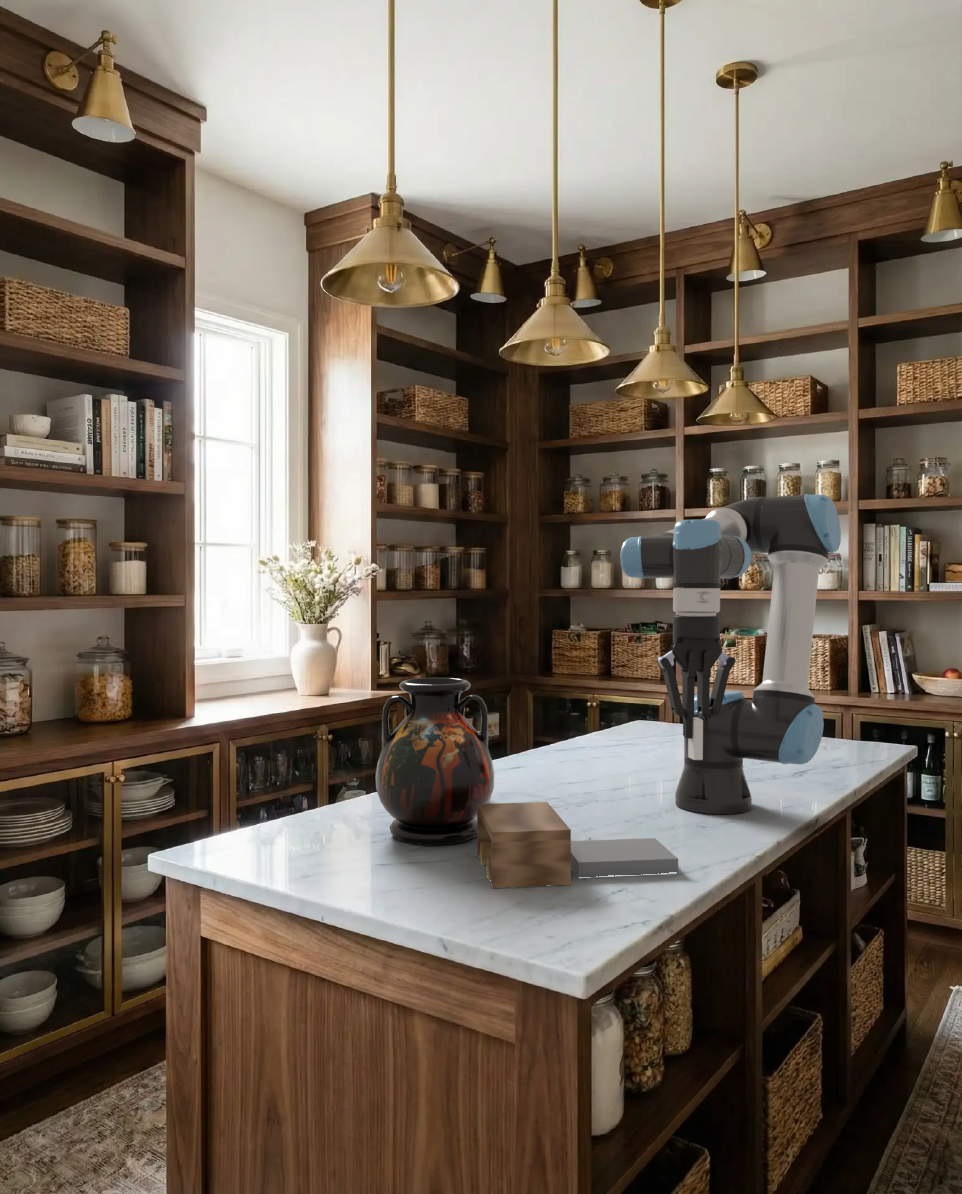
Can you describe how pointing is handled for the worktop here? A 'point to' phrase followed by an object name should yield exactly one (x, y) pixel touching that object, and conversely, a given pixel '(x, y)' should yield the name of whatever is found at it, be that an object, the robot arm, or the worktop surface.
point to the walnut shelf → (523, 844)
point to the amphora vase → (434, 764)
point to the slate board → (621, 857)
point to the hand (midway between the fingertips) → (695, 758)
